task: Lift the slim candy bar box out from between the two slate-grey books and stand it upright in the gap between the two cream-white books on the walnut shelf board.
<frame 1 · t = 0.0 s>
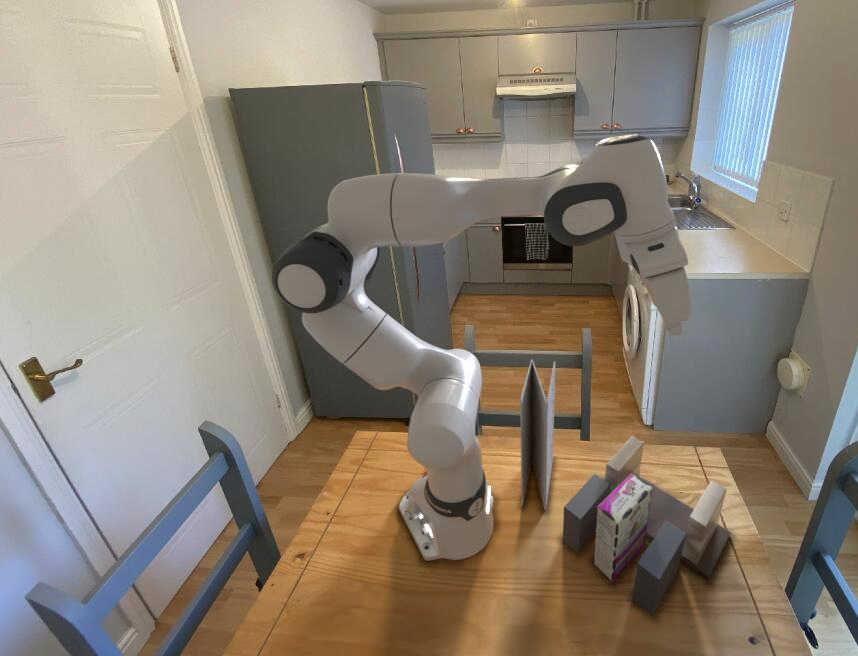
hand: (667, 317, 68), 52 cm above the table, tool tilted 20°, fingers open, 8 cm apart
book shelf: (657, 516, 92), on the table
brochure: (538, 482, 101), on the table
grey books: (618, 554, 84), on the table
candy bar box: (618, 554, 85), on the table
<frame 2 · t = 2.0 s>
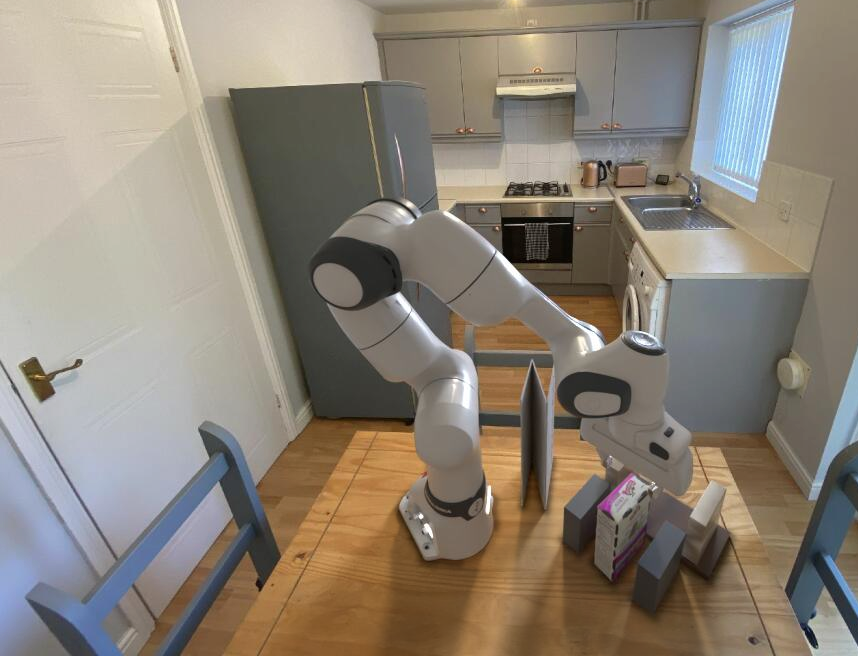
hand: (628, 479, 76), 21 cm above the table, tool pointing down, fingers open, 8 cm apart
nothing on the table moved.
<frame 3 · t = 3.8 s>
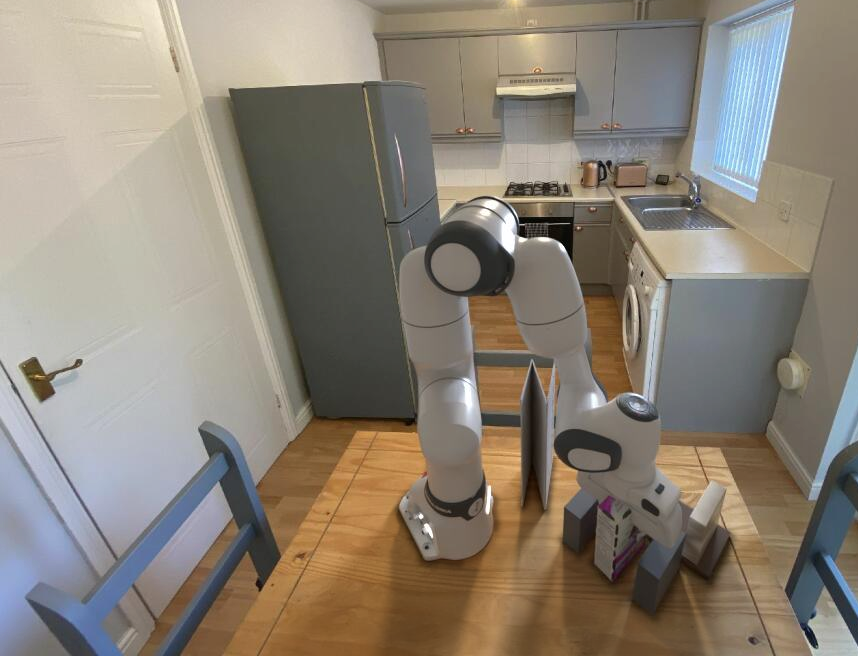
hand: (622, 526, 81), 8 cm above the table, tool pointing down, fingers closed on candy bar box, 5 cm apart
candy bar box: (618, 554, 85), on the table, touching gripper
everything else where it was.
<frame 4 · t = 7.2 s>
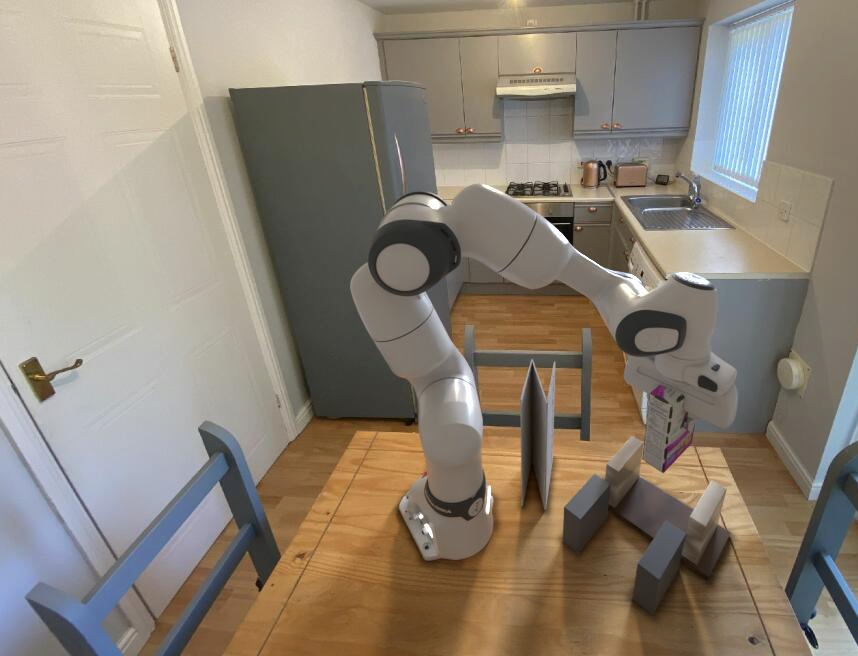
hand: (671, 420, 80), 28 cm above the table, tool pointing down, fingers closed on candy bar box, 5 cm apart
candy bar box: (666, 452, 84), point 19 cm above the table, touching gripper
everything else where it was.
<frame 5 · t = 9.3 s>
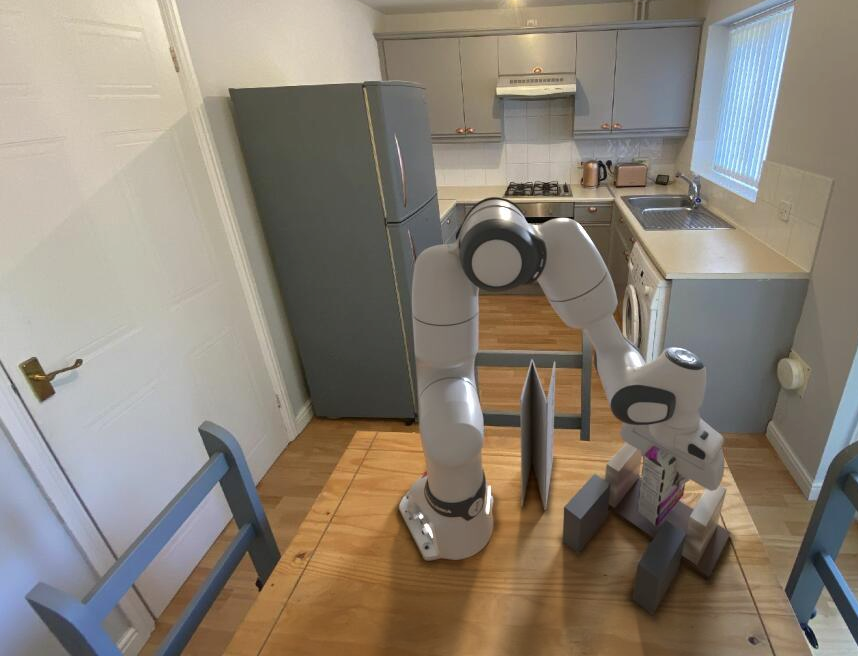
hand: (664, 476, 87), 12 cm above the table, tool pointing down, fingers closed on candy bar box, 5 cm apart
candy bar box: (659, 504, 90), point 4 cm above the table, touching gripper
everything else where it was.
when the fingers open (9 cm above the table, at t = 10.6 s): candy bar box stays where it is, resting on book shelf.
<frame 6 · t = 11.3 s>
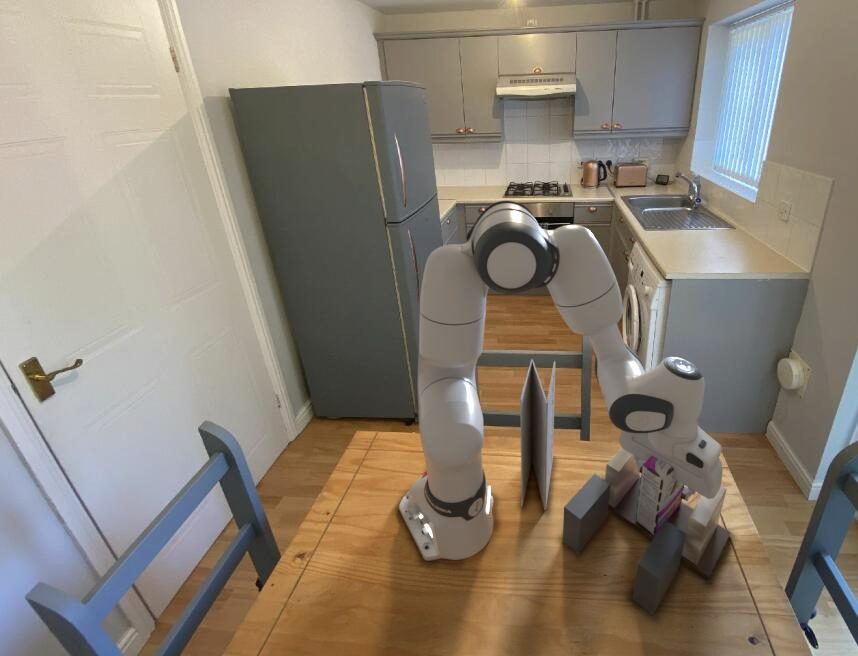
hand: (663, 483, 88), 10 cm above the table, tool pointing down, fingers open, 8 cm apart
candy bar box: (657, 513, 91), point 1 cm above the table, touching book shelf
everything else where it was.
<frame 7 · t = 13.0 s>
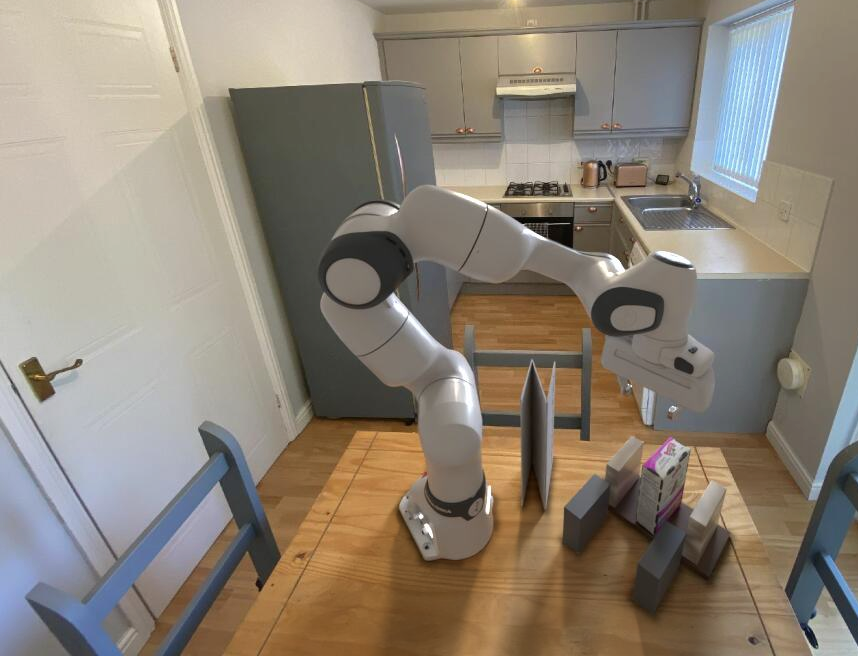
hand: (648, 405, 78), 32 cm above the table, tool pointing down, fingers open, 8 cm apart
nothing on the table moved.
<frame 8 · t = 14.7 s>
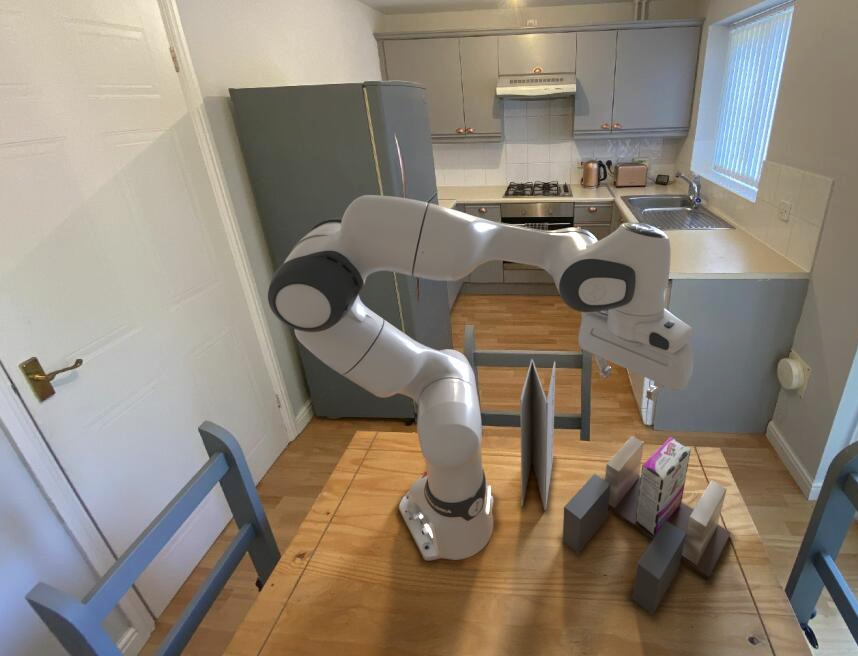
hand: (627, 386, 75), 37 cm above the table, tool pointing down, fingers open, 8 cm apart
nothing on the table moved.
at the end: candy bar box 0.1 cm from the target spot, point 1.0 cm above the table; candy bar box tilted 0°; the gripper is holding nothing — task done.
